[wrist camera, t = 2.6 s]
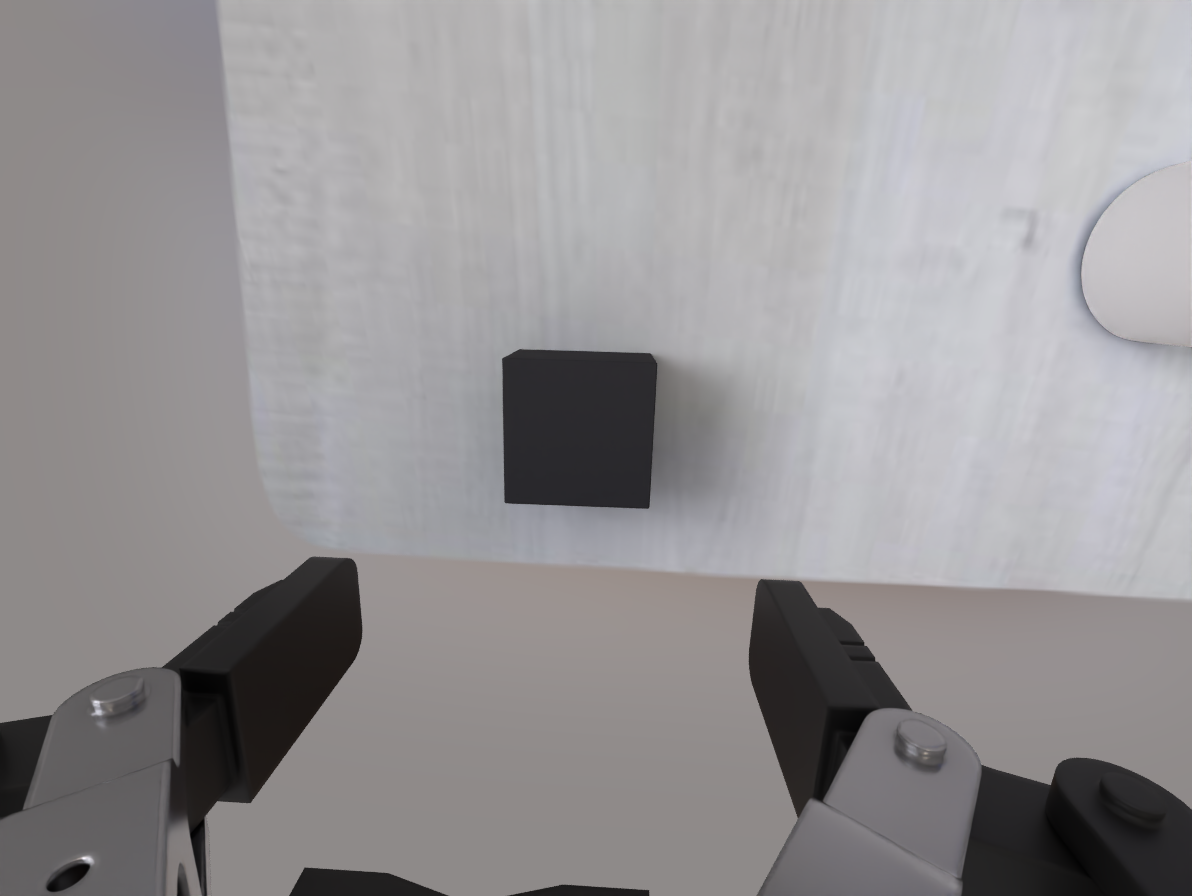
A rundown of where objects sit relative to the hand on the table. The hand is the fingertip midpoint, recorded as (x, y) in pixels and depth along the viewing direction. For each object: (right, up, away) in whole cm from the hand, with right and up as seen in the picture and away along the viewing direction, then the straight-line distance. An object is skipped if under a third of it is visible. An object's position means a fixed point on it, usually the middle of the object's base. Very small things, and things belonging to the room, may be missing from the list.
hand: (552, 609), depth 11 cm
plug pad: (0, +5, +13) cm, 14 cm away
